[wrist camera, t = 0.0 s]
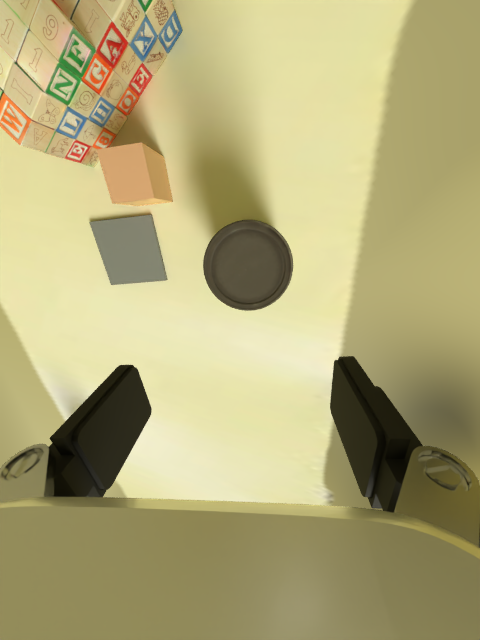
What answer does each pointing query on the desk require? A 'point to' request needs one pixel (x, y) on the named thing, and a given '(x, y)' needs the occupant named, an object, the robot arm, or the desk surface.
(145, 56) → the stack of blocks
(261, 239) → the coffee can
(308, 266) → the desk surface
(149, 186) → the tan cardboard-coloured cube
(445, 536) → the robot arm
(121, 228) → the mat
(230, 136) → the desk surface
